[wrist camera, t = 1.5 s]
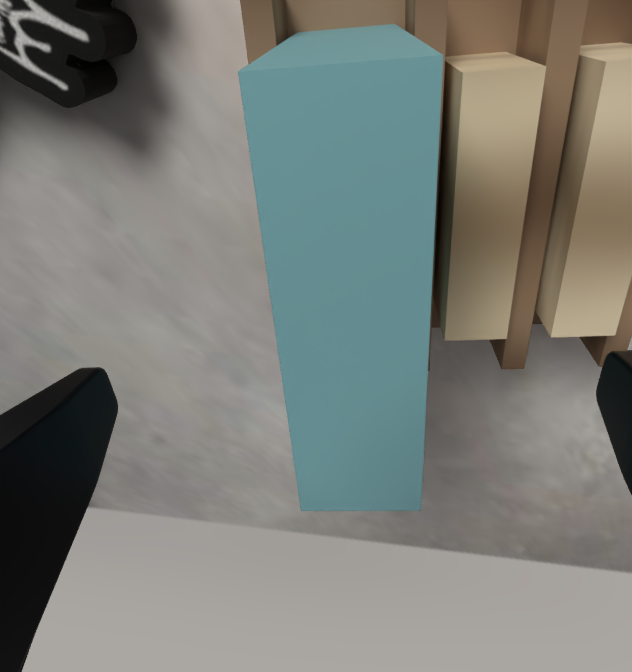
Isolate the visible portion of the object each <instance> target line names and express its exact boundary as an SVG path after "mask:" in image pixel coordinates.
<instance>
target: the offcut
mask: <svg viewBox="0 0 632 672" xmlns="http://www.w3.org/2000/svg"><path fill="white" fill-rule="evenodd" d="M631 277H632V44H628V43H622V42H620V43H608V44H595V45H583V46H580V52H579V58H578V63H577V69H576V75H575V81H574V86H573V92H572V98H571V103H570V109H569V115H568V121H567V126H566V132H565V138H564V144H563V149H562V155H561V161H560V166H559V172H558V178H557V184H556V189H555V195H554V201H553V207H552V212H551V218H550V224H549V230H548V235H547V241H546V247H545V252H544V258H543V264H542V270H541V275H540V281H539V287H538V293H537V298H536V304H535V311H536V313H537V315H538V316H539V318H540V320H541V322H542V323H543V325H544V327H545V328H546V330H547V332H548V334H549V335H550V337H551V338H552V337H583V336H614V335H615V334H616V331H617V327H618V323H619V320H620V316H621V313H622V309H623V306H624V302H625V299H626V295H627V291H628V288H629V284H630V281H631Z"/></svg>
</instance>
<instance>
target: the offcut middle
mask: <svg viewBox="0 0 632 672" xmlns="http://www.w3.org/2000/svg"><path fill="white" fill-rule="evenodd" d="M545 73H546V66H544V65H541V64H538V63H536V62H533V61H530V60H527V59H524V58H522V57H519V56H516V55H513V54H511V53H508V52H497V53H485V54H472V55H460V56H448V57H445V71H444V91H443V110H442V130H441V150H440V169H439V189H438V209H437V228H436V248H435V268H434V287H433V300H434V303H435V307H436V311H437V314H438V318H439V322H440V326H441V329H442V333H443V337H444V340H445V341H458V340H489V339H507V333H508V326H509V319H510V312H511V306H512V299H513V292H514V285H515V278H516V271H517V264H518V258H519V251H520V244H521V237H522V230H523V223H524V216H525V210H526V203H527V196H528V189H529V182H530V175H531V168H532V162H533V155H534V148H535V141H536V134H537V127H538V121H539V114H540V107H541V100H542V93H543V86H544V79H545Z"/></svg>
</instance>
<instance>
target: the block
mask: <svg viewBox="0 0 632 672" xmlns="http://www.w3.org/2000/svg"><path fill="white" fill-rule="evenodd" d="M442 70H443V54H441V53H439V52H438V51H436V50H435V49H433V48H432V47H430V46H429V45H427V44H425V43H424V42H422V41H421V40H419V39H418V38H416V37H415V36H413V35H412V34H410V33H408V32H407V31H405V30H404V29H402V28H401V27H399V26H398V25H396V24H388V25H376V26H365V27H353V28H342V29H331V30H319V31H308V32H297V33H296V34H294V35H293V36H291V37H290V38H288V39H287V40H285V41H284V42H282V43H281V44H279V45H278V46H276V47H275V48H273V49H272V50H270V51H268V52H267V53H265V54H264V55H262V56H261V57H259V58H258V59H256V60H255V61H253V62H252V63H250V64H249V65H247V66H246V67H244V68H243V69H241V70H240V71H238V75H239V82H240V89H241V96H242V103H243V110H244V117H245V124H246V131H247V138H248V144H249V151H250V158H251V165H252V172H253V179H254V186H255V193H256V200H257V207H258V214H259V221H260V228H261V235H262V242H263V249H264V256H265V263H266V270H267V277H268V284H269V291H270V298H271V305H272V312H273V319H274V326H275V333H276V340H277V347H278V354H279V361H280V368H281V375H282V382H283V389H284V396H285V403H286V410H287V417H288V424H289V431H290V438H291V445H292V452H293V459H294V466H295V473H296V480H297V487H298V494H299V501H300V508H301V511H421V500H422V479H423V459H424V438H425V418H426V398H427V377H428V357H429V336H430V316H431V295H432V275H433V254H434V234H435V214H436V193H437V173H438V152H439V132H440V111H441V91H442Z"/></svg>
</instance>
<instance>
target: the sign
mask: <svg viewBox="0 0 632 672" xmlns="http://www.w3.org/2000/svg"><path fill="white" fill-rule="evenodd" d="M111 2H112V0H0V69H1V70H3V71H4V72H6V73H7V74H8V75H10V76H11V77H12V78H14V79H16V80H17V81H19V82H21V83H22V84H24V85H26V86H28V87H30V88H32V89H33V90H35V91H37V92H39V93H41V94H43V95H44V96H46V97H48V98H49V99H51V100H53V101H54V102H56V103H57V104H59V105H61V106H63V107H67V108H70V107H75V106H78V105H80V104H82V103H85V102H87V101H90V100H92V99H95V98H97V97H100V96H102V95H104V94H107V93H109V92H111V91H112V90H113V89H114V88H115V87H116V85H117V76H116V73H115V70H114V68H113V67H112V66H111V64H110V63H109V62H108V61H106V60H105V59H107V58H111V57H115V56H118V55H122V54H126V53H128V52H130V51H131V50H132V49H133V48H134V46H135V44H136V40H137V33H136V29H135V26H134V24H133V21H132V20H131V18H130V17H129V16H128V15H127V14H126V13H125V12H123V11H120V10H118V9H116V8H113V7H112V6H111Z"/></svg>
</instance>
